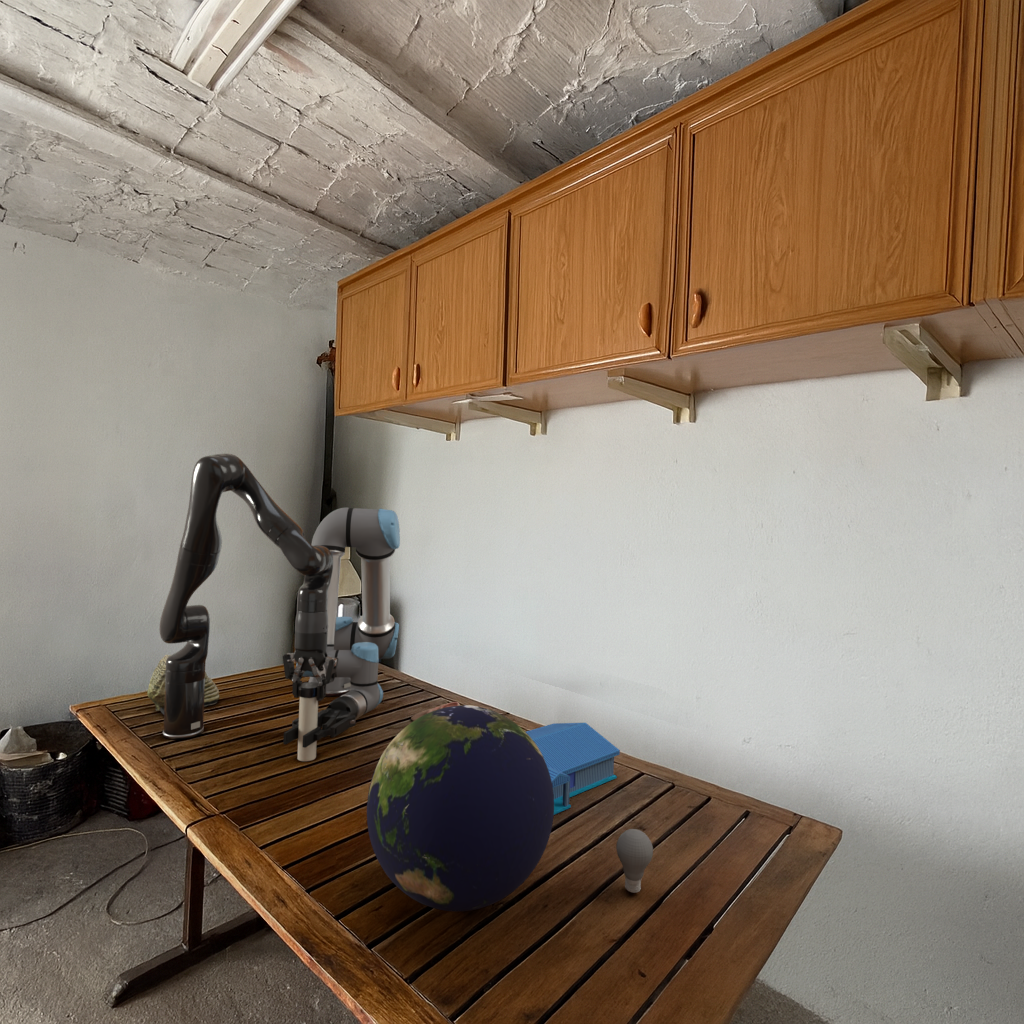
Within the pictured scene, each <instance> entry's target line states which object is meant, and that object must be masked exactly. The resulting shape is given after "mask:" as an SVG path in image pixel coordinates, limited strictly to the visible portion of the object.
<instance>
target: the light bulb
mask: <svg viewBox="0 0 1024 1024" xmlns="http://www.w3.org/2000/svg"><path fill="white" fill-rule="evenodd" d="M615 849H616V854H617V857H618V859H619V861H620V863H621V865H622V867H623V873H624V874H623V875H624V876H625V878H624V888H625V890H627V891H628V892H630V893H634V894H635V893H639V892H640V891H641V889H642V887H641V886H642V879H643V877H644V875H645V871H646V868H647V867H648V866H649V864H650V863H651V861H652V859H653V855H654V847H653V843H652V841H651V838H649V836H648V835H647V834H646V833H645V832H643V831H642V830H641V829H636V828H629V829H627V830H625V831H623V832H622V833H621V834H620V835H619V837H618V839H617V841H616V847H615Z"/></svg>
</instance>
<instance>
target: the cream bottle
mask: <svg viewBox="0 0 1024 1024" xmlns="http://www.w3.org/2000/svg"><path fill="white" fill-rule="evenodd" d="M298 703H299V704H298V718H299V726H298V738H297V753H296V755H297V756H296V757H297V758H296V759H297V760H298V761H300V762H310V761H311V762H312V761H314V760H315V759H316V758H317V744H318V740H317V741H315V742H314V743H312V744H310V745H309V746H307V747H306V748H304V747H303V735H305V734H307V733H308V732H310V731H312V730H313V729H315V728H317V723H318V712H319V701H317V697H312V698H303V697H299V702H298Z"/></svg>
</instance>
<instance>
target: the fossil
mask: <svg viewBox="0 0 1024 1024" xmlns="http://www.w3.org/2000/svg"><path fill="white" fill-rule="evenodd" d="M170 655H171V654H165V655H164V656H163V657H162V658H161V659H160V660H159V662H158V663H157V666H156V667H155V669H154V670H153V672H152V675H151V677H150V680H149V684H148V688H147V697H148V699H149V700H150V701H152V703H153V704H154V706H155V711H158V712H159V711H160V708H164V705H165V674H166V660H167V658H168V657H169V656H170ZM220 698H221V696H220V690H219V688H218V686H217V685H216V683H215V682H214V681H213V679H212V678H211V677H209V675H208V674H207V672H206V671H205V693H204V707H207V706H213V705H215V704H217V703H218V701H219V699H220ZM160 712H161V711H160Z"/></svg>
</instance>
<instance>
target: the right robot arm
mask: <svg viewBox="0 0 1024 1024" xmlns="http://www.w3.org/2000/svg"><path fill="white" fill-rule="evenodd" d="M400 530H401V529H400V522H399V517H398V515H397V513H396V511H395V510H392V509H383V508H359V507H340V508H337V509H334V510H333V511H331V512H330V513H328V514H327V515H325V517H324V518H323V519H322V521H320V523H319V525H318V526H317V527H316V530H315V531H314V534H313V536H312V539H311V543H310V544H311V545H312V546H317V545H321V546H325V547H327V548H328V549H329V550H330V552H331V553H332V556H333V572H332V577H331V581H330V585H329V589H328V608H327V613H328V637H327V649H326V652H327V655H328V657H331V658H336V657H337V658H338V665H337V670H336V674H335V679H334V681H332V682H330V683H329V684H326V696H325V697H336V698H335V699H333V700H332V701H330V702H329V704H328V705H327V707H326V708H325V709H322V710H320V711H318V723H317V728H315V729H313V730H312V731H310V732H308V733H307V734H305V735H303V747H304V748H306V747H307V746H309V745H310V744H312V743H314V742H315V741H317V742H318V741H320V740H321V739H323V738H324V739H325V738H327V737H329V738H331V739H334V738H336V737H337V736H339V735H340V734H342V733H343V732H345V731H347V730H348V729H350V728H353V727H356V725H357V724H356V723H357V721H356V720H357V719H359V718H361V717H363V716H364V715H366V714H367V713H369V712H371V711H373V710H374V709H375V708H377V706H379V705H380V704H381V703H382V701H383V699H384V691H383V688H382V686H381V684H379V682H378V680H379V679H378V677H379V662H380V660H384V659H385V660H386V659H392V658H394V656H395V654H396V649H397V645H398V637H399V631H400V630H399V629H400V624H399V623H398V622H396V620H395V618H394V616H393V615H392V614H391V557H392V556H393V555H394V554H395V552H396V550H397V549H399V548H400V545H401V534H400ZM346 548H355V554H356V555H357V557H359V558H360V563H361V565H360V567H361V607H362V608H361V609H362V615H361V616H360V617H359V618H358V620H357V621H354V619H353V617H352V616H337V615H338V601H339V590H340V589H339V588H340V575H341V564H342V563H341V560H342V558H343V557H344V556H345V554H346ZM295 664H296V666H297V663H295ZM296 666H295V667H296ZM324 667H325V670H326V673H327V668H328V666H327V662H325V663H324ZM318 671H319V670H318ZM326 673H325V674H326ZM303 677H304V678H305V677H306V678H309V679H308V682H316V683H318V682H317V679H316V677H314V674H313V672H310V671H305V672H304V674H303V676H302V678H303ZM338 696H339V697H338ZM298 726H299V717H296V718H295V719H294V720H292V722H291V728H289V729H288V730H286V731H284V732H283V741H282V742H283V743H282V744H283V745H288V744H290V743H291V742H294V741H295V740H297V739H298Z"/></svg>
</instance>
